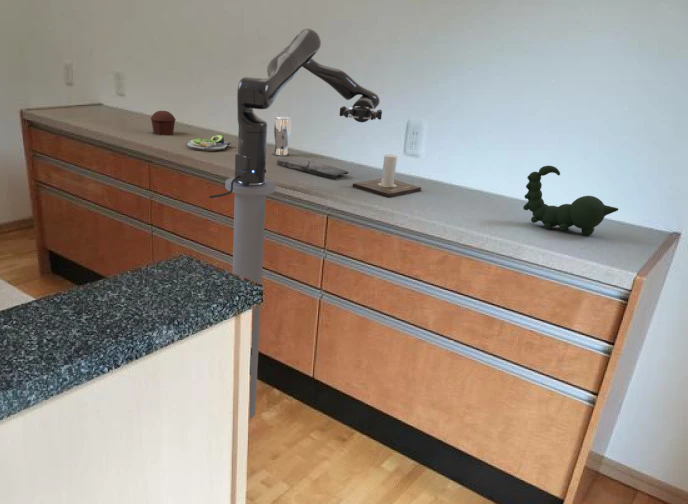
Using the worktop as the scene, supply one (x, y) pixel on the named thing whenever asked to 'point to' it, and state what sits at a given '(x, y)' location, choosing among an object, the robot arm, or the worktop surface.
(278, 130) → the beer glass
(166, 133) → the muffin
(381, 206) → the worktop surface
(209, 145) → the salad plate
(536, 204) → the toy figurine
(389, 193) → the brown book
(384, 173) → the white cylinder
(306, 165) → the stone slab
